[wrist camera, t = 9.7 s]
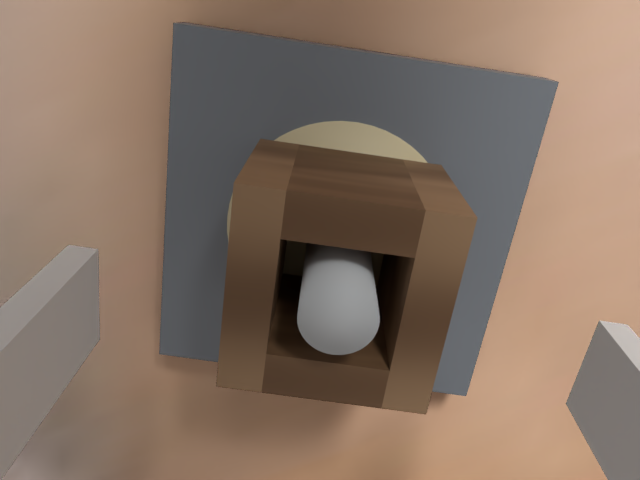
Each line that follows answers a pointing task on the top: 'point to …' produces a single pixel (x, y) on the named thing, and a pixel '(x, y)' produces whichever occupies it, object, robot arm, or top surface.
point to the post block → (347, 135)
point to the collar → (352, 233)
